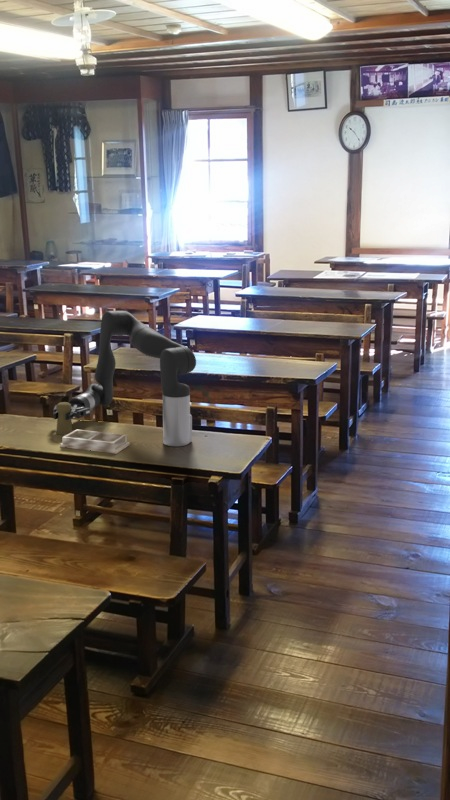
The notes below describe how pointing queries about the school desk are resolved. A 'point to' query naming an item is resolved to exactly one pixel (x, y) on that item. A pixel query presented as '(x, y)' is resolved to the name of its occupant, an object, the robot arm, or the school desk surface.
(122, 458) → the school desk surface
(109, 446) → the white divided tray
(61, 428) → the cork
